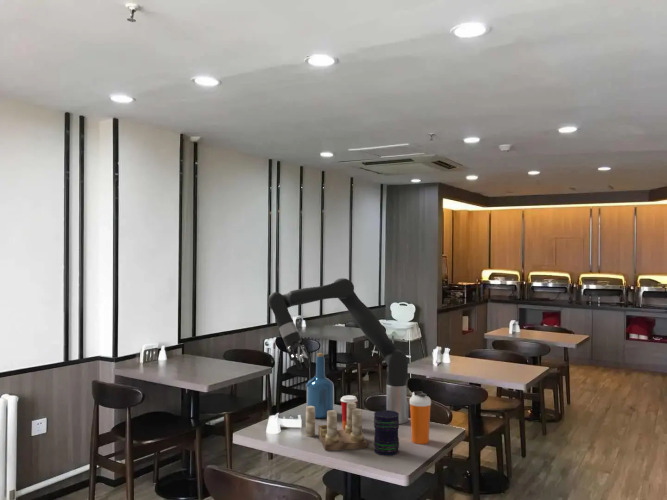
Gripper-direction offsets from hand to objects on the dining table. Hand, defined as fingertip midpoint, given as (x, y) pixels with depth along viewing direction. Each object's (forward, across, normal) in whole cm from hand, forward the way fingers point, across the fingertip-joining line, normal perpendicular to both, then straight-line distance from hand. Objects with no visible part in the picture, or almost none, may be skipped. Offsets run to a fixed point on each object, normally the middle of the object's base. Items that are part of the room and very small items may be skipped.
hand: (304, 368), depth 240 cm
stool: (+34, -2, -3) cm, 35 cm away
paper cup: (+31, +16, 0) cm, 35 cm away
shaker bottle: (+48, +12, -30) cm, 57 cm away
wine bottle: (+20, +31, +17) cm, 40 cm away
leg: (+26, +2, +11) cm, 28 cm away
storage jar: (+45, -5, -21) cm, 49 cm away
